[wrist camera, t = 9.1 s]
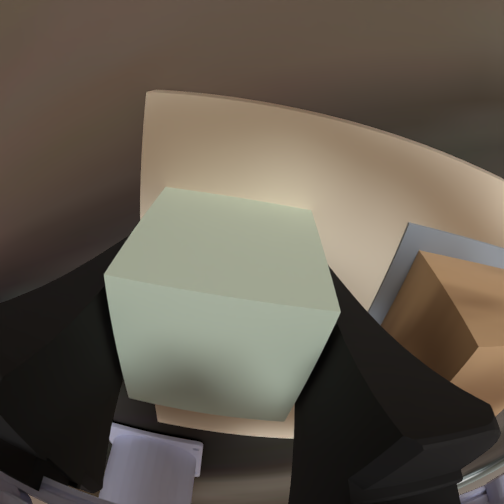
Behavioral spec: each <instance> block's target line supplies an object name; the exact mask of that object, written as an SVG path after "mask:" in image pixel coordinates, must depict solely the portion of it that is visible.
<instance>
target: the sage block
mask: <svg viewBox="0 0 504 504" xmlns="http://www.w3.org/2000/svg"><path fill="white" fill-rule="evenodd" d="M104 280H105V287H106V294H107V300H108V306H109V312H110V317H111V323H112V328H113V333H114V338H115V343H116V348H117V352H118V357H119V361H120V365H121V370H122V374H123V378H124V382H125V386H126V389H127V393H128V397H129V398H131V399H135V400H139V401H144V402H148V403H153V404H157V405H162V406H167V407H172V408H177V409H182V410H188V411H194V412H200V413H206V414H213V415H220V416H228V417H236V418H245V419H254V420H266V421H279V422H284V421H285V419H286V418H287V416H288V414H289V412H290V411H291V409H292V407H293V405H294V404H295V402H296V400H297V398H298V396H299V395H300V393H301V391H302V389H303V387H304V385H305V383H306V382H307V380H308V378H309V376H310V374H311V372H312V370H313V368H314V366H315V364H316V362H317V360H318V358H319V357H320V355H321V353H322V351H323V349H324V346H325V344H326V342H327V340H328V338H329V336H330V334H331V332H332V330H333V328H334V326H335V324H336V321H337V319H338V317H339V315H340V313H341V311H340V307H339V303H338V299H337V296H336V292H335V288H334V285H333V281H332V277H331V274H330V270H329V267H328V263H327V260H326V256H325V253H324V250H323V246H322V243H321V240H320V236H319V233H318V230H317V227H316V223H315V220H314V217H313V214H312V211H311V210H307V209H302V208H296V207H291V206H285V205H280V204H274V203H268V202H262V201H256V200H250V199H244V198H238V197H232V196H226V195H219V194H212V193H206V192H199V191H192V190H185V189H178V188H170V187H165V188H164V189H163V191H162V192H161V193H160V195H159V196H158V197H157V199H156V200H155V201H154V203H153V204H152V205H151V207H150V208H149V209H148V211H147V212H146V214H145V215H144V216H143V218H142V219H141V220H140V222H139V223H138V225H137V226H136V227H135V229H134V230H133V232H132V233H131V235H130V236H129V237H128V239H127V240H126V242H125V243H124V245H123V246H122V248H121V249H120V251H119V252H118V254H117V255H116V257H115V258H114V260H113V261H112V263H111V264H110V266H109V267H108V269H107V270H106V272H105V273H104Z"/></svg>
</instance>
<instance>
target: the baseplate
mask: <svg viewBox="0 0 504 504" xmlns="http://www.w3.org/2000/svg"><path fill="white" fill-rule="evenodd" d="M165 187H170V188H178V189H185V190H192V191H199V192H206V193H212V194H219V195H226V196H232V197H238V198H244V199H250V200H256V201H262V202H268V203H274V204H280V205H285V206H291V207H296V208H302V209H307V210H311V211H312V214H313V217H314V220H315V223H316V227H317V230H318V233H319V236H320V240H321V243H322V246H323V250H324V253H325V256H326V260H327V263H328V265H329V267H330V268H331V269H332V270H333V272H334V273H335V274H336V275H337V276H338V278H339V279H340V280H341V281H342V283H343V284H344V285H345V286H346V287H347V289H348V290H349V291H350V292H351V293H352V295H353V296H354V297H355V298H356V299H357V301H358V302H359V303H360V304H361V305H362V306H363V307H364V309H365V310H366V311H367V312H368V313H369V314H370V315H371V316H372V317H373V318H374V319H375V320H376V321H377V322H378V324H379V325H381V324H382V322H383V320H384V318H385V316H386V315H387V313H388V311H389V309H390V307H391V306H392V304H393V302H394V300H395V298H396V296H397V294H398V292H399V290H400V288H401V286H402V284H403V282H404V280H405V278H406V276H407V274H408V272H409V270H410V268H411V266H412V264H413V262H414V260H415V258H416V256H417V253H418V251H419V250H420V251H425V252H430V253H434V254H439V255H444V256H448V257H453V258H457V259H462V260H466V261H471V262H475V263H480V264H484V265H489V266H493V267H497V268H501V269H504V179H503V178H501V177H499V176H496V175H494V174H492V173H490V172H488V171H486V170H484V169H482V168H480V167H477V166H475V165H473V164H471V163H468V162H466V161H464V160H461V159H459V158H457V157H454V156H452V155H449V154H447V153H444V152H442V151H439V150H437V149H434V148H432V147H429V146H426V145H424V144H421V143H418V142H415V141H413V140H410V139H407V138H404V137H401V136H398V135H395V134H392V133H389V132H386V131H382V130H379V129H376V128H373V127H369V126H366V125H363V124H359V123H355V122H352V121H348V120H344V119H341V118H337V117H333V116H329V115H325V114H321V113H316V112H312V111H308V110H303V109H299V108H294V107H289V106H284V105H279V104H273V103H268V102H262V101H256V100H250V99H244V98H237V97H230V96H222V95H214V94H205V93H196V92H185V91H172V90H153V91H149V92H146V102H145V113H144V126H143V141H142V160H141V190H140V220H141V219H142V218H143V216H144V215H145V214H146V212H147V211H148V209H149V208H150V207H151V205H152V204H153V203H154V201H155V200H156V199H157V197H158V196H159V195H160V193H161V192H162V191H163V189H164V188H165ZM155 408H156V414H157V420H158V422H162V423H167V424H172V425H177V426H182V427H188V428H194V429H200V430H207V431H214V432H221V433H229V434H238V435H248V436H259V437H273V438H292V439H294V409H295V404H294V405H293V407H292V409H291V411H290V412H289V414H288V416H287V418H286V419H285V421H284V422H279V421H266V420H254V419H245V418H236V417H228V416H220V415H213V414H206V413H200V412H194V411H188V410H182V409H177V408H172V407H167V406H162V405H157V404H155Z"/></svg>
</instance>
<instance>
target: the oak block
mask: <svg viewBox="0 0 504 504" xmlns="http://www.w3.org/2000/svg"><path fill="white" fill-rule="evenodd" d="M380 326H381V327H382V328H384V329H385V330H386V331H387V332H388V333H389V334H390V335H391V336H392V337H393V338H394V339H395V340H396V341H397V342H398V343H400V344H401V345H402V346H403V347H404V348H405V349H406V350H408V351H409V352H410V353H411V354H413V355H414V356H415V357H416V358H418V359H419V360H420V361H421V362H423V363H424V364H425V365H427V366H428V367H429V368H431V369H432V370H433V371H435V372H436V373H438V374H439V375H441V376H442V377H444V378H445V379H447V380H448V381H450V382H451V383H453V384H454V385H456V386H457V387H459V388H461V389H463V390H464V391H466V392H468V393H470V394H472V395H474V396H475V397H477V398H479V399H481V400H483V401H485V402H486V403H488V404H490V405H491V407H492V409H493V412H494V415H495V416H496V415H497V414H498V413H500V412H501V411H502V410H503V409H504V269H501V268H497V267H493V266H489V265H484V264H480V263H475V262H471V261H466V260H462V259H457V258H453V257H448V256H444V255H439V254H434V253H430V252H425V251H420V250H419V251H418V253H417V256H416V258H415V260H414V262H413V264H412V266H411V268H410V270H409V272H408V274H407V276H406V278H405V280H404V282H403V284H402V286H401V288H400V290H399V292H398V294H397V296H396V298H395V300H394V302H393V304H392V306H391V307H390V309H389V311H388V313H387V315H386V316H385V318H384V320H383V322H382V324H381V325H380Z"/></svg>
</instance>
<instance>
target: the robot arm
mask: <svg viewBox="0 0 504 504" xmlns="http://www.w3.org/2000/svg"><path fill="white" fill-rule="evenodd" d="M129 236H130V235H129ZM129 236H128V237H129ZM128 237H126V238H125V239H123V240H122V241H120V242H119V243H117V244H115V245H114V246H112V247H111V248H109V249H108V250H106V251H104V252H103V253H101V254H100V255H98V256H97V257H95V258H93V259H92V260H90V261H88V262H86V263H85V264H83V265H81V266H80V267H78V268H76V269H75V270H73V271H71V272H70V273H68V274H66V275H64V276H62V277H60V278H58V279H56V280H54V281H52V282H50V283H48V284H46V285H44V286H42V287H40V288H38V289H35V290H33V291H30V292H28V293H25V294H23V295H20V296H18V297H16V298H13V299H11V300H8V301H5V302H2V303H0V504H32V501H31V498H30V497H29V495H31V496H33V497H35V498H37V499H39V500H41V501H43V502H45V503H47V504H191V499H192V491H193V484H194V477H199V476H200V468H201V460H202V451H203V443H201V442H199V441H194V440H188V439H182V438H177V437H172V436H167V435H162V434H157V433H153V432H148V431H144V430H140V429H136V428H132V427H128V426H124V425H120V424H117V423H113V422H112V421H113V417H114V412H115V408H116V403H117V399H118V395H119V392H120V388H121V384H122V380H123V374H122V370H121V365H120V361H119V357H118V352H117V348H116V343H115V338H114V333H113V328H112V323H111V317H110V312H109V306H108V300H107V294H106V287H105V280H104V273H105V272H106V270H107V269H108V267H109V266H110V264H111V263H112V261H113V260H114V258H115V257H116V255H117V254H118V252H119V251H120V249H121V248H122V246H123V245H124V243H125V242H126V240H127V239H128ZM328 267H329V265H328ZM329 270H330V274H331V277H332V281H333V285H334V288H335V292H336V296H337V299H338V303H339V307H340V311H341V313H340V315H339V317H338V319H337V321H336V324H335V326H334V328H333V330H332V332H331V334H330V336H329V338H328V340H327V342H326V344H325V346H324V349H323V351H322V353H321V355H320V357H319V358H318V360H317V362H316V364H315V366H314V368H313V370H312V372H311V374H310V376H309V378H308V380H307V382H306V383H305V385H304V387H303V389H302V391H301V393H300V395H299V396H298V398H297V400H296V402H295V409H294V445H293V462H292V475H291V486H290V495H289V503H288V504H504V473H503V474H501V475H499V476H497V477H496V478H494V479H492V480H491V481H489V482H488V483H487V484H486V485H484V486H481V487H479V488H476V489H474V490H471V491H469V492H466V493H463V494H460V495H459V493H458V488H457V483H459V482H461V481H462V479H463V477H462V473H461V469H462V468H463V467H465V466H466V465H468V464H469V463H471V462H472V461H474V460H475V459H476V458H478V457H479V456H481V455H482V454H483V453H485V452H486V451H487V450H488V449H490V448H491V447H492V446H493V445H494V444H495V443H496V442H497V440H498V439H499V437H500V435H501V431H500V428H499V425H498V423H497V420H496V417H495V415H494V412H493V409H492V407H491V405H490V404H488V403H486V402H485V401H483V400H481V399H479V398H477V397H475V396H474V395H472V394H470V393H468V392H466V391H464V390H463V389H461V388H459V387H457V386H456V385H454V384H453V383H451V382H450V381H448V380H447V379H445V378H444V377H442V376H441V375H439V374H438V373H436V372H435V371H433V370H432V369H431V368H429V367H428V366H427V365H425V364H424V363H423V362H421V361H420V360H419V359H418V358H416V357H415V356H414V355H413V354H411V353H410V352H409V351H408V350H406V349H405V348H404V347H403V346H402V345H401V344H400V343H398V342H397V341H396V340H395V339H394V338H393V337H392V336H391V335H390V334H389V333H388V332H387V331H386V330H385V329H384V328H382V327H381V326H380V325H379V324H378V322H377V321H376V320H375V319H374V318H373V317H372V316H371V315H370V314H369V313H368V312H367V311H366V310H365V309H364V307H363V306H362V305H361V304H360V303H359V302H358V301H357V299H356V298H355V297H354V296H353V295H352V293H351V292H350V291H349V290H348V289H347V287H346V286H345V285H344V284H343V283H342V281H341V280H340V279H339V278H338V276H337V275H336V274H335V273H334V272H333V270H332V269H331V268H330V267H329ZM109 440H110V441H111V443H112V448H111V452H110V455H109V459H108V463H107V466H106V470H105V462H106V454H107V448H108V442H109ZM104 470H105V474H104ZM68 485H69V486H72V487H74V488H77V489H81V490H84V491H87V492H90V493H95V492H97V491H99V490H100V494H99V498H98V497H95V496H92V495H89V494H87V493H84V492H81V491H79V490H76V489H73V488H71V487H68ZM28 494H29V495H28Z"/></svg>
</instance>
